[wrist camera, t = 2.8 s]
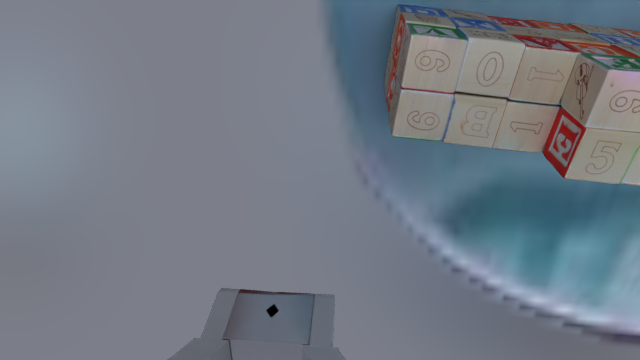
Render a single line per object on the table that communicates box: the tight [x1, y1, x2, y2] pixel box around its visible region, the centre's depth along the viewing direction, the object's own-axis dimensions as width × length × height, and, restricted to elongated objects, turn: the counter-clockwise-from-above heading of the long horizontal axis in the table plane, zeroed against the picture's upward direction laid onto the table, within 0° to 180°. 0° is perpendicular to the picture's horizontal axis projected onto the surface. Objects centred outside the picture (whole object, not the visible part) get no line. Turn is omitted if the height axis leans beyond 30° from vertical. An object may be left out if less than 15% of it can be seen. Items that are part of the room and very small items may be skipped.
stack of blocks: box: [384, 5, 640, 186], centre depth 27 cm, size 21×6×12 cm, turn 84°
